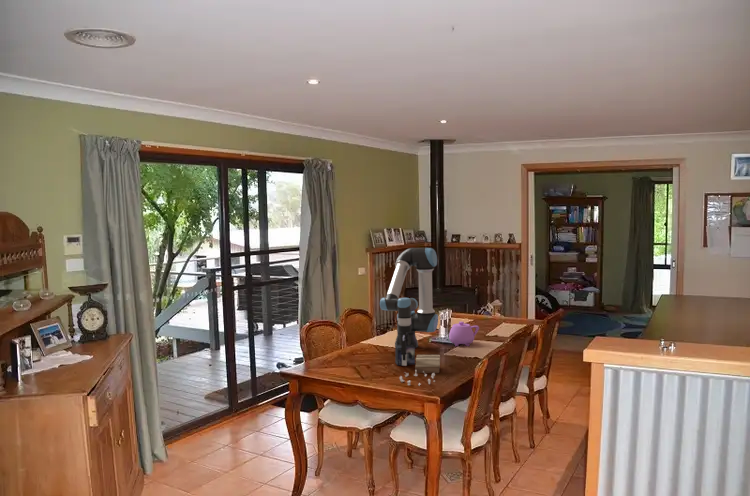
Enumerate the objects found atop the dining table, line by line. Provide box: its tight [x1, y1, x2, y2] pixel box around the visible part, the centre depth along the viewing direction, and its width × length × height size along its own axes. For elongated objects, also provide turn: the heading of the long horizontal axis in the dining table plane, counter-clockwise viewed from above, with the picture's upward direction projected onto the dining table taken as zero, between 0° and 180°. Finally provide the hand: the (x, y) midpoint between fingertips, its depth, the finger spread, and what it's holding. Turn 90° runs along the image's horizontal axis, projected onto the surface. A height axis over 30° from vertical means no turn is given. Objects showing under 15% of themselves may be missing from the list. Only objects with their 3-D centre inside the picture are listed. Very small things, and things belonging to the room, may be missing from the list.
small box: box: [394, 345, 416, 366], centre depth 336 cm, size 11×6×10 cm, turn 101°
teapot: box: [448, 321, 480, 347], centre depth 383 cm, size 20×20×15 cm
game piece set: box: [399, 369, 436, 387], centre depth 304 cm, size 19×20×4 cm
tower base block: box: [414, 364, 441, 374], centre depth 322 cm, size 10×13×4 cm
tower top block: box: [415, 354, 441, 368], centre depth 322 cm, size 10×13×4 cm
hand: (405, 363), depth 337 cm, fingers closed on small box, 8 cm apart
